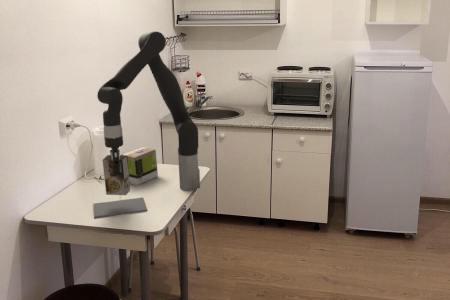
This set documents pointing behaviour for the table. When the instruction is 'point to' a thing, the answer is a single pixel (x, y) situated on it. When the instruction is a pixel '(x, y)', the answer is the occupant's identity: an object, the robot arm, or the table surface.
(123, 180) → the coffee box
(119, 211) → the mat
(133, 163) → the tea box
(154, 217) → the table surface
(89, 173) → the table surface
